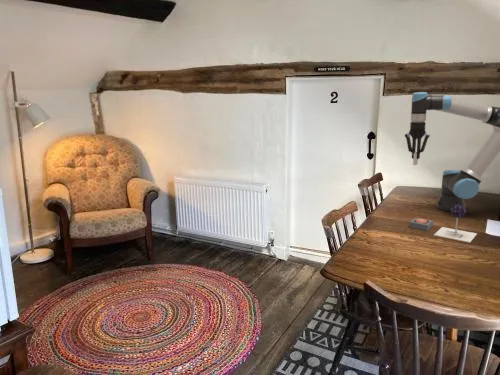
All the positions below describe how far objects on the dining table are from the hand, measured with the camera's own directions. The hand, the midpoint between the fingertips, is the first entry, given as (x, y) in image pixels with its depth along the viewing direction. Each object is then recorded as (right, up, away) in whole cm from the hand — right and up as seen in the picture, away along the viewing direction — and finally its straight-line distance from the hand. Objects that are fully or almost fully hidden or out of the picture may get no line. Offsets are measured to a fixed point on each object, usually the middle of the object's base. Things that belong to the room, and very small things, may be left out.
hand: (415, 164), depth 222 cm
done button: (-3, -32, -14) cm, 35 cm away
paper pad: (+9, -36, -26) cm, 45 cm away
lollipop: (+9, -36, -26) cm, 45 cm away
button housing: (-3, -33, -14) cm, 36 cm away
